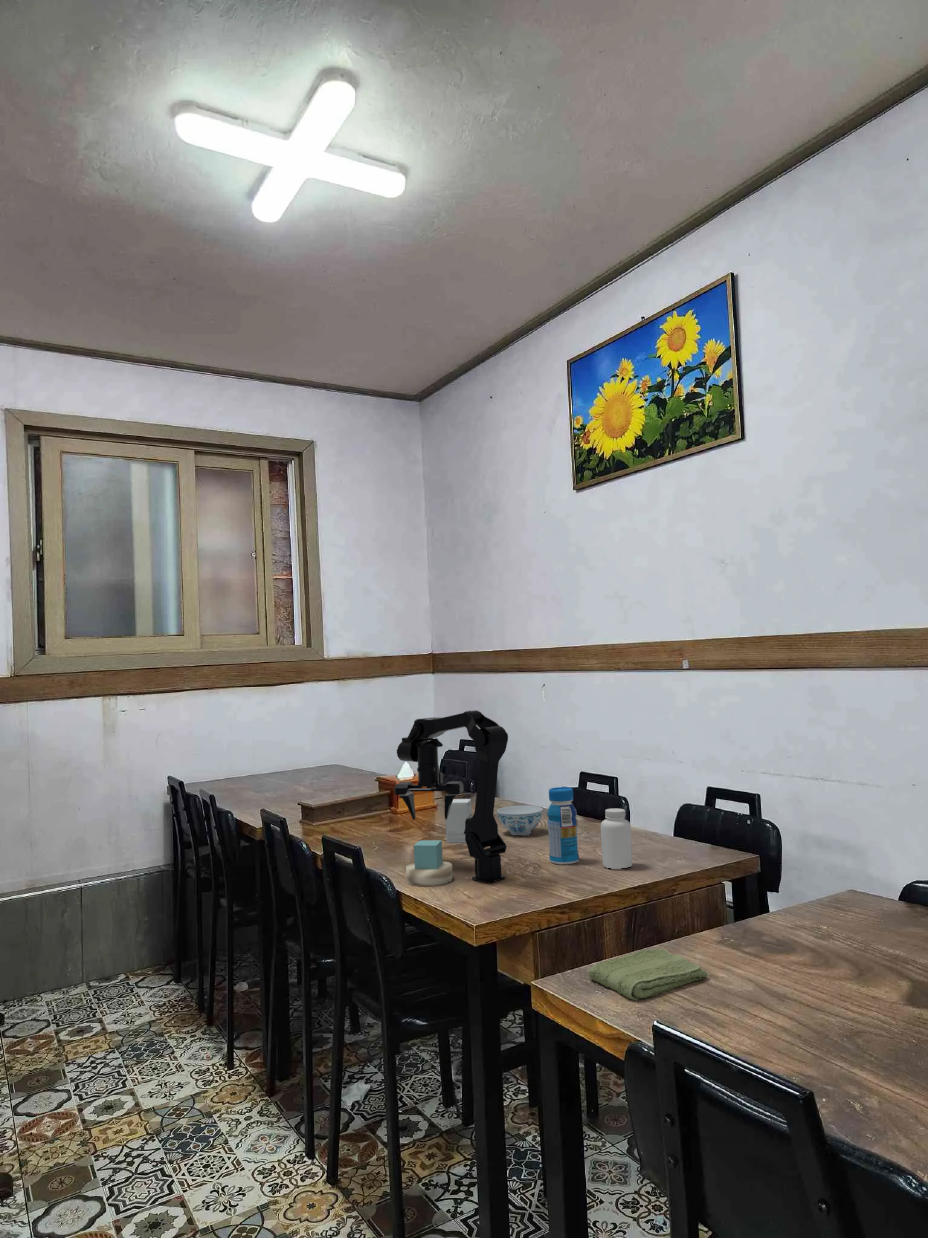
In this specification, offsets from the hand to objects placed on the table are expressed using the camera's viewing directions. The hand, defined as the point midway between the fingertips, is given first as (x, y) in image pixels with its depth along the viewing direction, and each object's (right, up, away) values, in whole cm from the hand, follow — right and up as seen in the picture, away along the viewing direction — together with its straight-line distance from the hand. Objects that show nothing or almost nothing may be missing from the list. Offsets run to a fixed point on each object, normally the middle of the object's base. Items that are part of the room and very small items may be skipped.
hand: (430, 819), depth 226 cm
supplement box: (+8, -15, +32) cm, 36 cm away
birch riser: (+1, -13, -15) cm, 19 cm away
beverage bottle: (+37, -12, -1) cm, 39 cm away
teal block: (0, -9, -15) cm, 17 cm away
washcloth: (+41, -7, -86) cm, 95 cm away
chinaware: (+28, -14, +38) cm, 50 cm away
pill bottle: (+51, -11, -9) cm, 53 cm away
